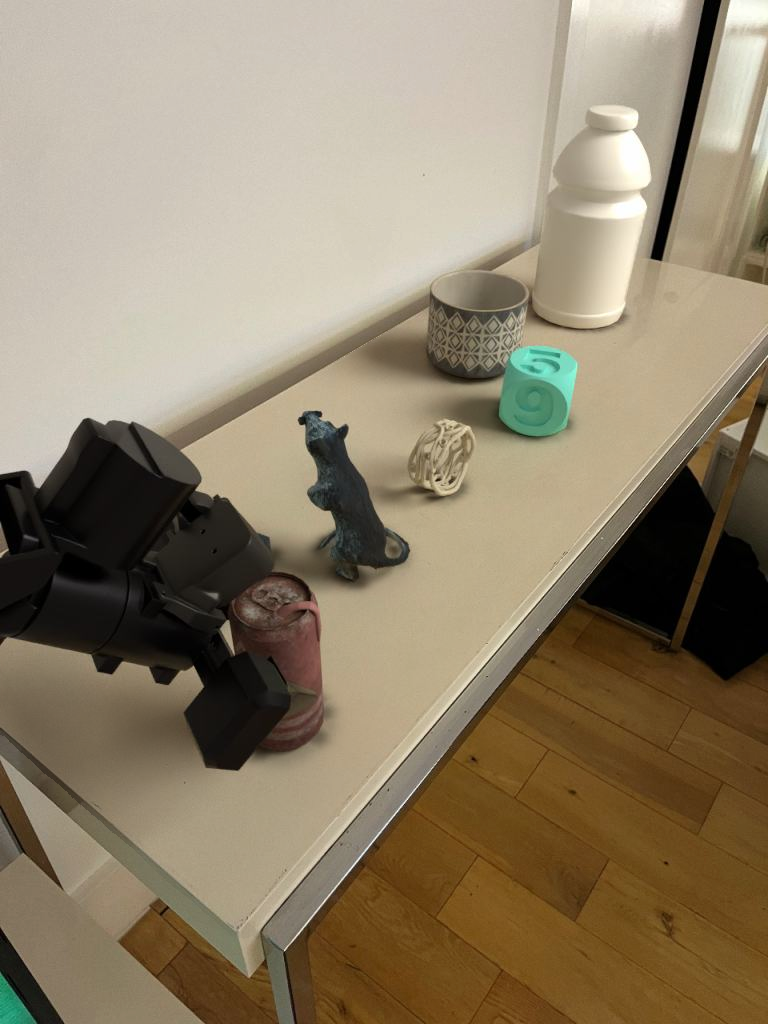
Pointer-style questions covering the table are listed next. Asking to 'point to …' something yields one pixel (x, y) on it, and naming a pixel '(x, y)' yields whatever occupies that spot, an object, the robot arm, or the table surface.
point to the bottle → (593, 222)
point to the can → (283, 646)
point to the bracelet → (455, 433)
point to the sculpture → (346, 502)
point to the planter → (475, 322)
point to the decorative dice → (537, 390)
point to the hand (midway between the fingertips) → (285, 654)
